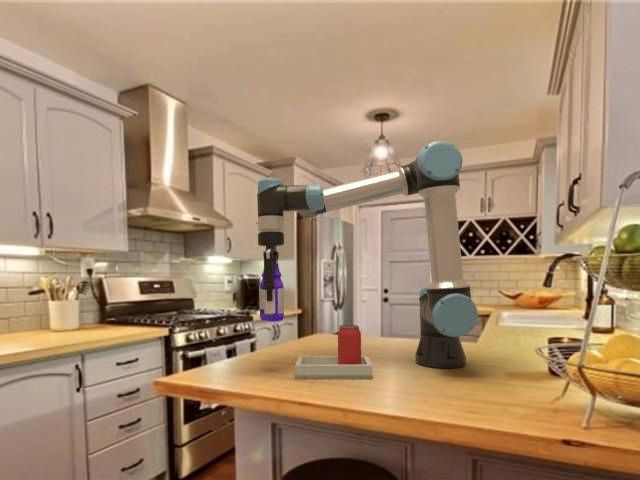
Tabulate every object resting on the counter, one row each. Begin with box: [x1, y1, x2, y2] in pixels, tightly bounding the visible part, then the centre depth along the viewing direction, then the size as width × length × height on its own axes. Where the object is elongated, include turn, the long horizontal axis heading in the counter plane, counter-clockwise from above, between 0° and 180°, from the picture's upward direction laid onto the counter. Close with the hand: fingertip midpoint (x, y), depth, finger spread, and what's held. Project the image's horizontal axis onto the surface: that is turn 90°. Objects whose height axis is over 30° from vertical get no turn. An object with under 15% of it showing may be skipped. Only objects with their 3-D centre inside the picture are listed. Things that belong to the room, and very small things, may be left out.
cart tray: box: [294, 355, 373, 380], centre depth 115 cm, size 20×12×4 cm, turn 89°
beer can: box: [337, 324, 362, 365], centre depth 115 cm, size 7×7×12 cm
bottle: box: [259, 259, 285, 322], centre depth 118 cm, size 7×6×17 cm
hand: (272, 311), depth 117 cm, fingers closed on bottle, 7 cm apart
